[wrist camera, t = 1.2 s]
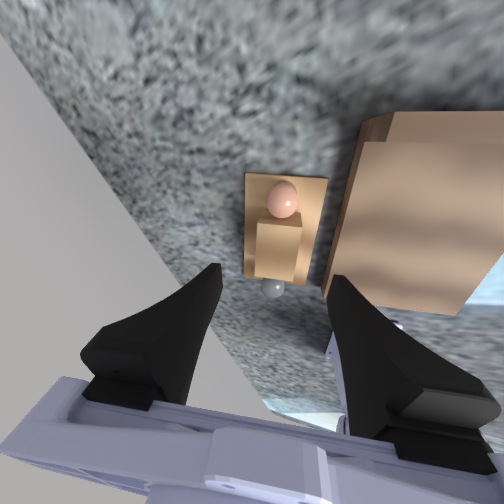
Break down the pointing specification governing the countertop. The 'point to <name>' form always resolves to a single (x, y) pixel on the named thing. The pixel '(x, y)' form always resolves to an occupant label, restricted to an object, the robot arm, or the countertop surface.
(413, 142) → the light wood stepped block
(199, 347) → the robot arm
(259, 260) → the wooden stand
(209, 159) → the countertop surface
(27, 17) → the countertop surface
